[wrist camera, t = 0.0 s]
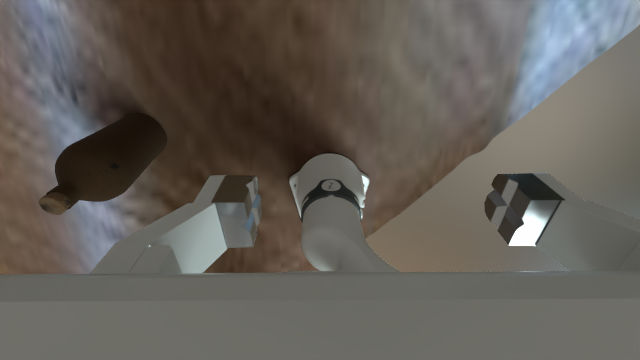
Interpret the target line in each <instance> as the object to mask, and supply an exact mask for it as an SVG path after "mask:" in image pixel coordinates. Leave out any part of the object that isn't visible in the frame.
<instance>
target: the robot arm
mask: <svg viewBox="0 0 640 360" xmlns="http://www.w3.org/2000/svg"><path fill="white" fill-rule="evenodd" d="M289 182H290V186H291V189H292V192H293V195H294V199H295V202H296V205H297V208H298V211H299V214H300V217H301V221H302V224H303V225H302V238H301V247H302V250H303V253H304V255H305V256H306V258H307V259H308V261H309V262H310V263H311V264H312V265H313V266H314V267H316V268H317V269H319V270H321V271H288V272H282V273H203V272H204V271H205V270H206V269H207V268H208V267H209V266H210V265H211V264H212V263H213V262H214V261H215V260H216V259H217V258H218V257H219V256H220V255H221V254H223V253H224V252H225V251H226V250H227V248H233V247H253V245H254V241H255V238H256V234H257V229H256V226H257V225H258V224H259V223H260V219H261V211H262V206H261V197H260V196H259V195H258V194H257V191H258V188H259V185H258V179H257V177H256V176H245V175H227V176H226V175H212V176H210V177H209V178H208V180H207V181H206V183H205V185H204V186H203V188H202V189H201V191H200V193H199V194H198V196H197V197H196V199H195V201H194V202H193V203H188V204H186V205H184V206H182V207H181V208H179V209H177V210H175V211H173V212H172V213H170V214H168V215H166V216H164V217H163V218H161V219H159V220H157V221H155V222H153V223H152V224H150V225H148V226H146V227H144V228H143V229H141V230H139V231H137V232H135V233H134V234H132V235H130V236H128V237H126V238H125V239H123V240H121V241H119V242H117V243H115V244H114V245H113V247H112V248H111V249H110V250H109V251H108V253H107V254H106V255H105V256H104V257H103V259H102V260H101V261H100V262H99V263H98V264H97V266H96V267H95V268H94V269H93V270H92V272H91V273H90V274H0V360H640V219H637V218H634V217H632V216H629V215H627V214H624V213H621V212H618V211H616V210H613V209H611V208H608V207H605V206H603V205H600V204H597V203H595V202H592V201H589V200H583V199H582V198H580V197H579V196H578V195H576V194H575V193H574V192H572V191H571V190H570V189H568V188H567V187H566V186H565V185H563V184H562V183H561V182H559V181H558V180H556V179H555V178H554V177H553V176H551V175H550V174H547V173H523V174H497V176H496V177H495V178H494V180H493V182H492V187H493V189H494V190H493V191H492V192H491V193H490V194H488V195H487V198H486V201H485V213H486V215H487V217H488V219H489V220H490V221H491V222H492V223H494V224H496V225H497V226H499V228H498V232H499V233H500V234H501V236H502V237H503V238H504V240H505V241H506V242H507V244H508V245H520V246H521V245H522V246H536V248H538V249H539V250H541V251H542V252H544V253H545V254H547V255H548V256H550V257H551V258H553V259H554V260H556V261H557V262H559V263H560V264H562V265H563V266H564V267H566V268H567V269H569V270H570V271H542V272H541V271H532V272H531V271H529V272H528V271H527V272H401V271H399V270H397V269H395V268H394V267H392V266H391V265H389V264H387V262H385V261H384V260H383V259H382V258H380V257H379V256H378V255H377V254H376V253H375V252H374V251H373V250H372V248H371V247H370V246H369V245H368V243H367V241H366V239H365V237H364V233H363V230H362V226H361V219H362V216H363V211H362V210H361V208H364V204H365V203H364V202H363V200H364V199H365V193H366V190H367V187H368V184H369V177H368V176H367V175H365V174H364V173H362V172H360V171H359V170H358V168H357V167H356V166H355V164H354V163H353V162H352V161H351V160H349V159H348V158H346V157H344V156H342V155H338V154H322V155H318V156H315V157H313V158H312V159H310V160H309V161H308V162H306V163H305V165H304V166H303V167H302V169H301V170H300V171H299V172H298V173H296V174H294V175H293V176H291V177H290V179H289ZM295 184H296V186H295ZM363 184H364V185H363Z"/></svg>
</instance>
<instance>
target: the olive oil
mask: <svg viewBox="0 0 640 360" xmlns="http://www.w3.org/2000/svg"><path fill="white" fill-rule="evenodd" d="M166 142H167V138H166V134H165V132H164V130H163V128H162V127H161V126H160V124H159V123H158V122H156V121H155V120H154V119H152V118H151V117H149V116H146V115H143V114H130V115H127V116H125V117H124V118H122V119H120V120H118V121H116V122H115V123H113V124H111V125H109V126H107V127H105V128H103V129H101V130H99V131H97V132H95V133H93V134H91V135H89V136H87V137H85V138H83V139H81V140H79V141H77V142H75V143H73V144H71V145H70V146H68V147H67V148H66V149H65V150H64V151H63V152H62V153H61V154H60V156H59V157H58V159H57V161H56V164H55V174H56V178H57V181H58V186H56V187H55V188H53V189H52V190H51V191H49V192H48V193H47V194H46V195H45V196H44V197H42V198H41V199H40V200H39V204H40V206H41V207H42V209H44V210H45V211H46V212H48V213H51V214H54V215H60V214H62V213H64V212H65V211H66V210H67V209H70V208H71V207H72V206H73V205H74V204H76V203H77V202H78V201H79V200H84V201H94V202H99V201H107V200H110V199H113V198H115V197H117V196H119V195H121V194H122V193H124V192H125V191H126V190H127V189H128V188H129V187H130V186H131V185H132V184H133V182H134V181H135V180H136V179H137V178H138V177H139V175H140V174H141V173H142V172H143V171H144V170H145V169H146V168H147V166H148V165H149V164H150V163H151V162H152V161H153V160H154V159H155V158H156V157H157V155H158V154H159V153H160V152H161V151H162V150H163V149H164V148H165V146H166Z"/></svg>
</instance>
